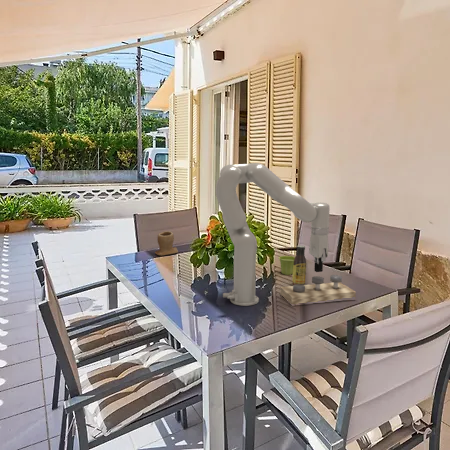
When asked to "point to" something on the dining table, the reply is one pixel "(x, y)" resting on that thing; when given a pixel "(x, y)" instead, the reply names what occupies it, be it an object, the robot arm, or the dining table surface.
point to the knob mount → (317, 293)
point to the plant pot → (287, 264)
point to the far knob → (335, 280)
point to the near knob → (298, 288)
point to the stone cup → (166, 243)
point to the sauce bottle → (299, 267)
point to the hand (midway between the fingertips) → (318, 271)
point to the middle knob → (317, 282)
